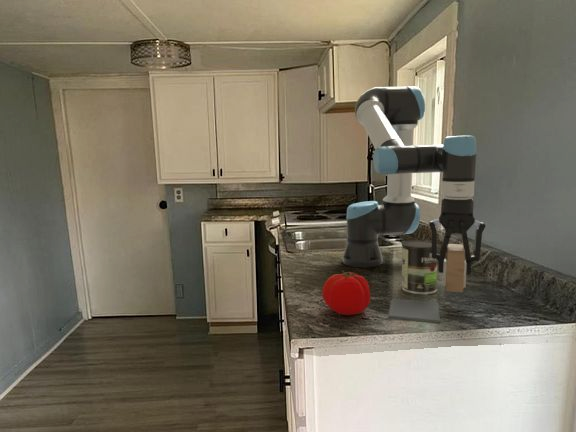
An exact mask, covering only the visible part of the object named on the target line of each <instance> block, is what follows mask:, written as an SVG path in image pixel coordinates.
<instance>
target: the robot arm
mask: <svg viewBox="0 0 576 432" xmlns="http://www.w3.org/2000/svg"><path fill="white" fill-rule="evenodd" d="M425 101H426V100H425V95H424V93H423V91H422V90H421V89H420V88H419V87H417V86H411V85H410V86H408V85H404V86H403V85H402V86H401V85H399V86H376V87H372V88H370V89H368V90H366V91H365V92H363V93H362V94H361V95H360V97H359V98H358V99H357V100H356V103H355V106H354V115H355V118H356V121H357V122H358V123H359V124H360V125H361V126H363V128H364V130H365V132H366V133H367V136H368V138H369V140H370V141H371V143H372V145H373V148H374V149H375V150H374V152H373V160H372V161H373V168H374V170H375V173H377V174H380V175H381V174H382V175H387V181H386V182H387V183H386V185H387V186H386V196H385V197H383V199H382V204H379V202H378V201H376V200H369V201H360V202H356V203H352V204H349V205H348V207H347V209H346V217H345V218H346V244H345V248H344V252H343V254H342V264H344V265H346V266H348V267H355V268H375V267H379V266H381V265H382V264H383V262H384V260H383V255H382V252H381V248H380V246H379V245H380V244H379V236H386V235H387V236H392V235H393V236H395V235H400V236H403V235H409V234H413V233H414V232H416V230H417V229H418V227H419V224H420V220H421V211H420V209H421V208H420V206H419V205H418V204H417V203H415V198H414V197H413V196H412V193H411V192H412V174H422V173H423V174H424V173H426V174H428V173H442V179H441V180H442V181H441V196H442V199H441V204H440V205H441V206H440V207H441V209H440V215H439V217H438V218H437V219H434V220H429V221H428V225H429V228H430V230H431V242H432V258H434V259H437V262H438V265H437V271H438V272H439V273H440V274H441V273H442V281H441V282H442V286H443V287H445V286H446V270H447V261H446V250H447V247H448V244H450V239H451V236H452V234H459V235H461V241H462V244H463V247H464V250H465V263H464V284H463V288H466V284H467V275H471V273H472V264H473V263H474V262H479V261H480V260H481V259H480V258H481V249H482V239H483V232H484V230H485V229H486V224H485V222H483V221H479V220H476V219H475V217H474V202H475V199H473V197H474V196H475V178H476V164H477V153H478V150H477V139H476V137H475V136H473V135H456V136H455V135H453V136H452V135H451V136H446V137H445V138H444V140H443V144H431V145H429V144H427V145H426V144H425V145H424V144H423V145H413V143H414V142H413V141H414V130H415V128H417V126H418V123H419V121H420V120H422V119H423V118H424V115H425V110H426V102H425ZM439 225H441V226H442V227H443V229H444V230H445V231H444V232H445V233H444V236H443V240H442V244H441V247H440V251H439V253H437V244H438V241H437V239H438V238H437V237H438V236H437V234H438V233H437V229H439ZM472 226H473V227H474V230H475V233H474V234H475V235H474V245H473V254H472V255H471V249H470V245H469V239H468V233H467V232H468V231H469V230H470V229H471V227H472Z"/></svg>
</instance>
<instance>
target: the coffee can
mask: <svg viewBox="0 0 576 432" xmlns="http://www.w3.org/2000/svg"><path fill="white" fill-rule="evenodd" d="M401 249H402V253H401V289H402V290H403V291H404V292H406V293H409V294H412V295H413V294H414V295H422V296H423V295H424V296H426V295H431V294H432V295H433V294H435V293H436V292H437V291H438V288H437V287H438V260H437V259H434V258H432V241H430V240H416V239H415V240H413V239H412V240H406V241H403V242H401ZM438 249H439V244H438V243H437V253H438V252H439V251H438ZM438 254H439V253H438Z"/></svg>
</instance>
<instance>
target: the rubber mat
mask: <svg viewBox="0 0 576 432" xmlns="http://www.w3.org/2000/svg"><path fill="white" fill-rule="evenodd" d="M387 317H388V318H389V319H396V320H397V319H398V320H408V321H418V322H426V323H436V324H437V323H438V324H441V318H440V307H439V302H435V301H425V300H424V301H422V300H412V299H401V298H400V299H399V298H391V302H390V307H389V311H388V316H387Z"/></svg>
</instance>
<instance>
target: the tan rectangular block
mask: <svg viewBox="0 0 576 432" xmlns="http://www.w3.org/2000/svg"><path fill="white" fill-rule="evenodd" d="M445 259H446V261H447V270H446V286H444V287H445V292H451V293H460V294H462V293H464V287H463V284H464V263H465V261H466V258H465V250H464V247H463V243H459V244H458V243H448V247H447V250H446V254H445Z"/></svg>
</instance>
